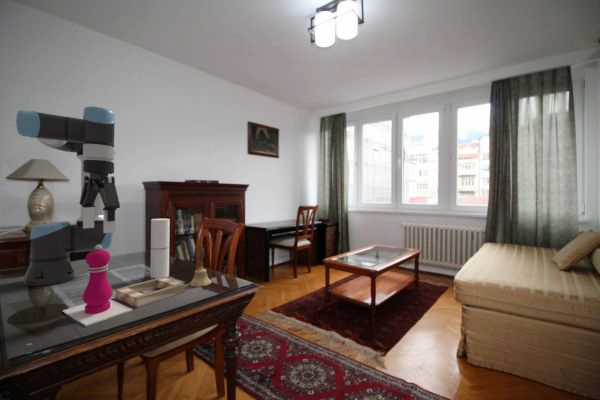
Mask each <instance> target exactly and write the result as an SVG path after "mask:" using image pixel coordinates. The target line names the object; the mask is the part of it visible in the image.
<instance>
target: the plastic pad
mask: <svg viewBox="0 0 600 400" xmlns="http://www.w3.org/2000/svg"><path fill="white" fill-rule="evenodd" d="M108 301H110V308H109V309H108V310H106V311H104V312H101V313H96V314H87V313H85V306H86V305H87V304H86V303H84V304H80V305H77V306H73V307H70V308H65V309H63V310H62V313H63V312H64V314H65V315H67V316H68V315H69V317H70V318H71V317H72V318H71V319H73V320H74V321H76V322H78V323H79V324H81V325H83V326H84V327H89V326H92V325H95V324H98V323H101V322H103V321H106V320H109V319H112V318H116V317H118V316H121V315H124V314H126V313H127V314H128V313H131V312H132V311H133V308H132V307H129V306H126V305H124V304H122V303H120V302H118V301H116V300H113V299H111V298H110V299H109V300H108Z"/></svg>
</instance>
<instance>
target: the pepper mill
mask: <svg viewBox="0 0 600 400" xmlns="http://www.w3.org/2000/svg"><path fill="white" fill-rule="evenodd" d="M101 249H102V246H101V245H96V246H95V250H93V251H89V252H88V253H87V254H86V256H85V263H86V264H87V265H88V267H87V269H88V270H87V272H88V274H89V277H88V279H89V280H88V283H87V285H86V287H85V289H84V291H83V294H82V301H83V302H84V304H87V305H86V306H85V313H87V314H96V313H101V312H104V311H106V310H108V309H109V308H110V301H108V300H109V299H111V298H112V297H113V289H112V286H111V285H110V282H109V280H108V278H107V270H108V269H109V264H108V263H109V262H110V260H111V254H110V252H109V251H108V250H107V249H102V250H101Z"/></svg>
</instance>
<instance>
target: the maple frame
mask: <svg viewBox="0 0 600 400" xmlns="http://www.w3.org/2000/svg"><path fill="white" fill-rule="evenodd" d="M156 288H159V289H158V290H155V291H152V292H151V291H150V290H153V289H156ZM146 291H150V292H148V293H142V292H146ZM185 291H186V283H184V282H181V281H177V280H173V279H170V278H167V277H165V278H164V277H161V278H157V279H153V278H152V279H150V280H145V281H143V282H139V283H134V284H131V285H127V286H122V287H120V288H119V287H118V288H116V289H115V299H117V300H119V301H121V302H123V303H126V304H128V305H131V306H132V307H135V308H141V307H144V306H146V305H149V304H152V303H156V302H158V301H161V300H165V299H167V298H171V297H173V296H176V295H179V294H182V293H185Z"/></svg>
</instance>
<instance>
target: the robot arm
mask: <svg viewBox="0 0 600 400" xmlns="http://www.w3.org/2000/svg"><path fill="white" fill-rule="evenodd" d="M15 124H16V130H17V134H18V135H19V136H20V137H21V136H22V137H28V138H31V139H32V138H33V139H36V140H37V141H38V142H40V143H41V144H42V145H44V146H46V147H49V148H51V149H54V150H58V151H62V152H68V153H76V158H77V159H79V160H80V162H81V164H80V169H81V172H80V174H81V175H80V176H81V177H80V179H81V180H80V183H81V185H80V189H81V190H80V199H79V205H80V217H78V218H77V219H76V222H75V223H76V224H71V222H69V221H57V222H50V223H49V222H48V223H42V224H39V225H38V224H37V225H35V226H33V227H31V229H30V236H29V240H30V251H29V252H30V253H29V255H30V256H29V257H30V262H29V266H28V268H27V271H26V272H25V275H24V277H23V285H25V286H27V287H39V286H40V287H42V286H49V285H50V286H51V285H57V284H60V283H64V282H67V281H70V280H72V279H74V278H75V277H76V276H75V275H76V272H75V269H74V267H73V264H72V262H71V259H70V254H71V253H79V252H91V251H94V250H95V246H96V245H101V246H102V249H101V250H107V249H109V248H110V247H111V245H112V242H113V236H114V233H115V232H116V210H117V209H120V208H121V205H120V201H119V195H118V192H117V187H116V183H115V182H116V181H115V180H116V179H115V176H114V175H113V176H111V175H112V174H115V163H114V160H115V155H116V151H115V124H116V121H115V113H114V112H113V111H112V110H110V109H108V108H104V107H99V106H86V107H84V108H83V115H82V118H78V117H70V116H64V115H63V116H62V115H58V114H57V115H56V114H51V113H45V112H39V111H34V110H24V109H20V110H18V111H17V112H16V123H15Z"/></svg>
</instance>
